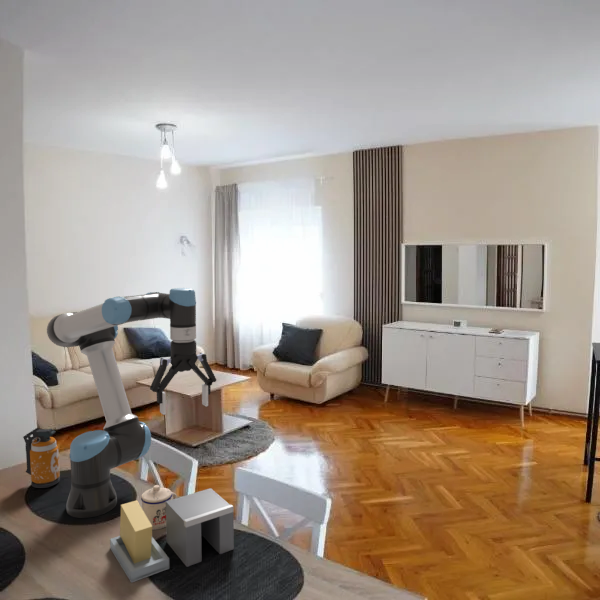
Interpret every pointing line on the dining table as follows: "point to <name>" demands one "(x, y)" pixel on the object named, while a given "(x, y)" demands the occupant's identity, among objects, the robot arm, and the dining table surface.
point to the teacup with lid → (156, 505)
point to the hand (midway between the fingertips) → (184, 409)
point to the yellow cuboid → (136, 531)
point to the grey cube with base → (199, 524)
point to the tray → (142, 568)
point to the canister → (42, 458)
